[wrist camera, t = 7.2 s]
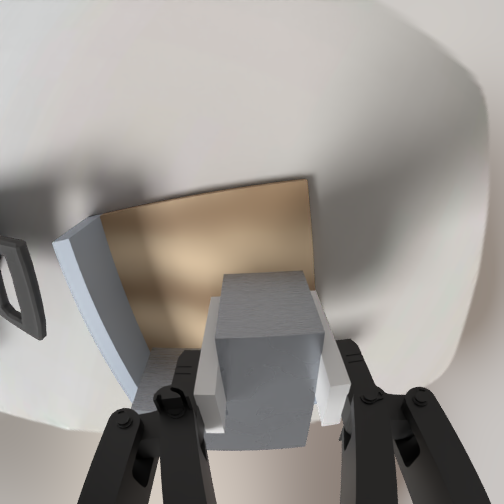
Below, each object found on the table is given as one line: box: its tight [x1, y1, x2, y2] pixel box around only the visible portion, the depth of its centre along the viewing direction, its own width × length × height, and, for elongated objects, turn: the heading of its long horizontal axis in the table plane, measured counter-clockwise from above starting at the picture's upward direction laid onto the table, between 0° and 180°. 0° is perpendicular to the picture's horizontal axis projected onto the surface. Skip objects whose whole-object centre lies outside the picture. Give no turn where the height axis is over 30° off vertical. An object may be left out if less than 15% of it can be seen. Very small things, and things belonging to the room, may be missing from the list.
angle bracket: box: [131, 270, 325, 451], centre depth 14 cm, size 9×9×5 cm
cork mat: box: [100, 179, 315, 352], centre depth 22 cm, size 15×14×1 cm
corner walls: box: [52, 214, 317, 404], centre depth 20 cm, size 16×16×5 cm
